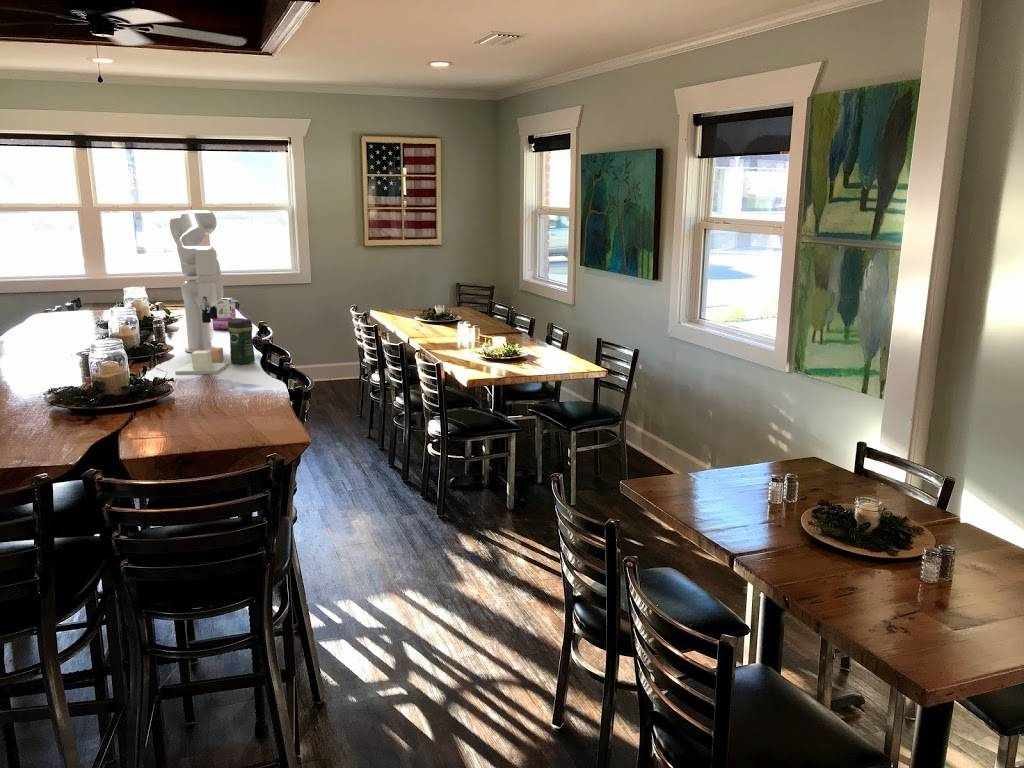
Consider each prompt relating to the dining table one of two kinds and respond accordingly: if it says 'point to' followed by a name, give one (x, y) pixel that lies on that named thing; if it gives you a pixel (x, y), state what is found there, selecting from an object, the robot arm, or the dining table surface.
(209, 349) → the terracotta block
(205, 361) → the cream block
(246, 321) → the coffee jar
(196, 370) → the board
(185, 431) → the dining table surface
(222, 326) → the candy bar box
